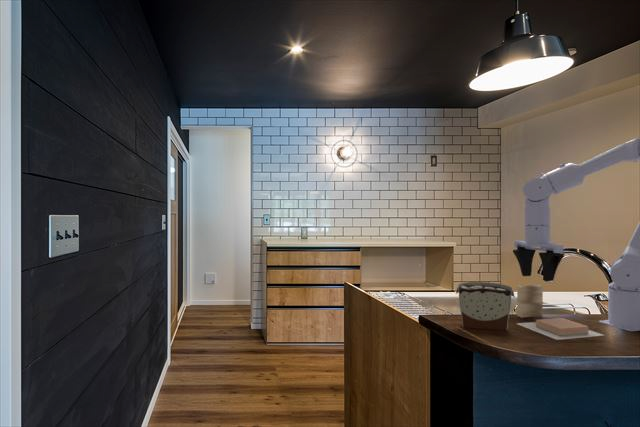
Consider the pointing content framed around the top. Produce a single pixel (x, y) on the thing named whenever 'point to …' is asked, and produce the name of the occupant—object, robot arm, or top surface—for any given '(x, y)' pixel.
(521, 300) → the beige upright block
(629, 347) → the top surface
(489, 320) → the food container
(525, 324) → the mat
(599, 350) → the top surface
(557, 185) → the robot arm
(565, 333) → the tile
